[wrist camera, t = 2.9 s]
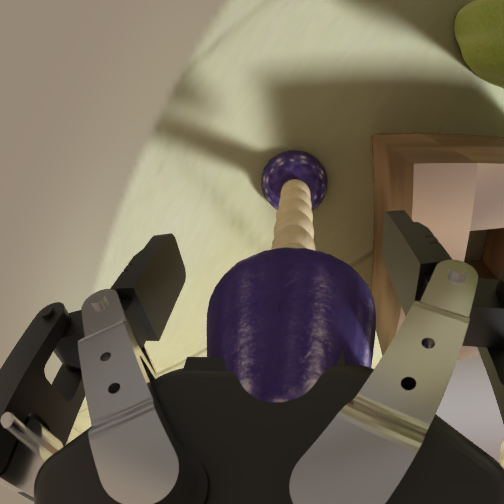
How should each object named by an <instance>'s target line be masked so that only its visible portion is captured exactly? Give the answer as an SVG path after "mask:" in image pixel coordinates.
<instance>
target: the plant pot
mask: <svg viewBox="0 0 504 504" xmlns="http://www.w3.org/2000/svg"><path fill="white" fill-rule="evenodd" d="M454 32H455V38H456V40H457V42H458V44H459V47H460V49H461V53H462V57H463V59H464V60H465V62H466V64H467V65H468V66H469V68H470V69H471V70H472V71H473V72H474V73H475V74H476V75H477V76H478V77H480V78H481V79H483V80H485V81H487V82H489V83H491V84H494V85H496V86H499V87H502V88H504V0H474V1H472V2H470V3H468V4H467V5H465V6H464V7H462V8H461V9H460V10H459V12H458V13H457V16H456V18H455V24H454Z"/></svg>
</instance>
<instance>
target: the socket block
mask: <svg viewBox="0 0 504 504" xmlns="http://www.w3.org/2000/svg"><path fill="white" fill-rule="evenodd" d="M372 148H373V169H374V249H373V270H372V286H371V294H372V296H373V299H374V304H375V310H376V332H377V336H378V339H379V343H380V347H381V351H382V355H384V353H385V352H386V350H387V348H388V347H389V345H390V343H391V342H392V340H393V338H394V337H395V335H396V333H397V331H398V330H399V328H400V326H401V324H402V323H403V321H404V319H405V317H406V316H405V313H404V311H403V308H402V306H401V303H400V301H399V298H398V296H397V294H396V291H395V289H394V286H393V284H392V282H391V279H390V277H389V275H388V272H387V270H386V268H385V266H384V262H383V256H382V242H383V216H384V212H385V211H397V210H405V211H406V213H407V214H408V215H409V217H410V218H411V219H412V220H413V222H419V223H421V224H423V225H424V226H426V227H428V228H429V229H430V231H431V232H432V233H433V234H434V237H436V238H437V239H438V241H439V243H441V245H442V246H443V247H444V249H445V250H446V251H447V253H448V254H449V255H450V257H451V258H452V259H453V260H459V261H463V262H464V259H465V254H466V249H467V244H468V239H469V233H470V231H476V230H486V229H488V234H487V239H486V244H485V249H484V253H483V257H482V260H477V261H469V262H465V263H467V264H469V265H471V266H472V267H473V268H474V269H475V270H476V272H477V274H478V278H482V279H493V280H499V277H500V273H501V270H502V269H503V268H504V138H503V137H491V136H477V135H457V134H378V135H372ZM479 354H480V353H479V350H478V348H477V347H471V346H462V347H461V350H460V353H459V356H458V359H457V360H460V359H464V358H468V357H471V356H475V355H479Z"/></svg>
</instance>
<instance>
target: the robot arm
mask: <svg viewBox="0 0 504 504" xmlns="http://www.w3.org/2000/svg"><path fill="white" fill-rule="evenodd" d="M382 256H383V262H384V266H385V268H386V270H387V272H388V275H389V277H390V279H391V282H392V284H393V286H394V289H395V291H396V294H397V296H398V298H399V301H400V303H401V306H402V308H403V311H404V313H405V316H406V317H405V319H404V321H403V323H402V324H401V326H400V328H399V330H398V331H397V333H396V335H395V337H394V338H393V340H392V342H391V343H390V345H389V347H388V348H387V350H386V352H385V353H384V355H383V356H382V358H381V360H380V361H379V363H378V364H377V366H376V367H375V369H372V368H370V367H367V366H364V365H360V364H355V363H349V362H345V357H344V350H342V353H341V355H340V357H339V359H338V362H337V364H336V366H331V367H330V368H328V369H327V370H326V371H325V372H324V373H323V374H322V375H321V376H320V377H319V379H318V380H317V382H316V383H315V384H314V386H313V387H312V388H311V389H310V390H309V391H308V392H307V393H305V394H304V395H302V396H300V397H298V398H296V399H293V400H289V401H285V402H280V403H275V402H264V401H260V400H258V399H257V398H255V397H253V396H252V395H251V394H250V393H248V392H247V391H246V390H245V389H244V388H243V386H242V385H241V383H240V381H239V379H238V378H237V376H235V375H234V373H233V372H231V371H227V370H226V366H225V361H224V357H187V359H186V363H185V366H184V368H183V369H178V370H175V371H171V372H169V373H166V374H164V375H162V376H160V377H159V375H158V373H157V371H156V369H155V367H154V365H153V362H152V360H151V358H150V356H149V353H148V351H147V349H146V347H145V346H144V344H145V342H146V341H159V340H160V337H161V335H162V333H163V330H164V328H165V326H166V323H167V321H168V319H169V317H170V314H171V312H172V310H173V307H174V305H175V303H176V301H177V298H178V296H179V294H180V292H181V289H182V287H183V285H184V283H185V278H186V272H185V267H184V264H183V261H182V258H181V255H180V252H179V248H178V245H177V242H176V239H175V237H174V235H173V234H163V235H156V236H153V237H152V238H151V239H150V241H149V242H148V243H147V245H146V246H145V248H144V249H143V250H141V251H140V252H139V253H137V254H136V255H135V256H134V257H133V258H132V260H131V261H130V262H129V264H128V265H127V266H126V268H125V269H124V272H122V273H121V275H120V276H119V277H118V279H117V280H116V282H115V283H114V284H113V286H112V287H111V289H104V290H100V291H98V292H96V293H94V294H92V295H91V296H90V297H88V298H87V299H86V300H85V302H84V303H83V305H82V309H81V310H79V311H75V312H71V313H68V312H67V310H66V308H65V306H64V305H63V304H62V303H60V302H58V303H52V304H50V305H48V306H46V307H45V308H43V309H42V310H41V311H40V312H39V313H38V314H37V315H36V317H35V318H34V320H33V321H32V322H31V324H30V325H29V327H28V328H27V329H26V331H25V333H24V334H23V336H22V337H21V338H20V340H19V341H18V343H17V344H16V346H15V347H14V349H13V350H12V352H11V353H10V355H9V357H8V358H7V360H6V361H5V363H4V364H3V366H2V368H1V369H0V483H1V484H3V485H4V486H6V487H7V488H9V489H11V490H12V491H14V492H17V493H19V494H21V495H23V496H25V497H26V498H28V499H30V500H32V501H34V503H35V504H504V439H503V442H502V445H501V451H500V454H501V457H500V459H499V463H498V462H497V461H496V460H495V459H494V458H493V457H491V456H489V455H488V454H487V453H486V452H484V451H483V450H482V449H481V448H479V447H478V446H476V445H475V444H474V443H473V442H471V441H470V440H468V439H467V438H466V437H465V436H463V435H462V434H460V433H459V432H458V431H457V430H455V429H454V428H453V427H451V426H450V425H448V424H447V423H446V422H445V421H443V420H442V419H441V418H440V417H438V416H437V415H436V411H437V409H438V407H439V405H440V403H441V400H442V398H443V396H444V393H445V390H446V388H447V386H448V383H449V380H450V378H451V376H452V373H453V370H454V367H455V364H456V362H457V359H458V356H459V353H460V350H461V347H462V346H471V347H477V348H478V350H479V353H480V355H481V358H482V360H483V363H484V366H485V368H486V371H487V374H488V376H489V379H490V382H491V385H492V388H493V391H494V394H495V397H496V400H497V403H498V406H499V410H500V413H501V416H502V420H503V424H504V268H503V269H502V270H501V273H500V277H499V280H493V279H482V278H478V274H477V272H476V270H475V269H474V268H473V267H472V266H471V265H469V264H467V263H465V262H463V261H459V260H453V259H452V258H451V257H450V255H449V254H448V253H447V251H446V250H445V249H444V247H443V246H442V245H441V243H439V241H438V239H437V238H436V237H434V234H433V233H432V232H431V231H430V229H429V228H428V227H426V226H424V225H423V224H421V223H419V222H413V220H412V219H411V218H410V217H409V215H408V214H407V213H406V211H405V210H397V211H385V212H384V216H383V242H382ZM53 351H54V353H55V354H56V355H57V357H58V358H59V359H60V361H61V362H62V363H63V364H62V366H61V368H60V369H59V371H58V373H57V375H56V377H55V379H54V381H53V383H52V385H51V384H50V383H49V381H48V380H47V379H46V377H45V374H44V367H45V364H46V363H47V361H48V359H49V357H50V356H51V354H52V352H53ZM85 395H86V400H87V405H88V410H89V414H90V419H91V424H92V426H91V427H90V428H89V429H87V430H86V431H85V432H83V433H82V434H81V435H79V436H78V437H76V438H75V439H74V440H72V441H71V442H70V443H68V444H67V445H66V442H67V440H68V437H69V434H70V432H71V429H72V427H73V424H74V422H75V419H76V417H77V414H78V412H79V409H80V407H81V405H82V402H83V400H84V397H85Z"/></svg>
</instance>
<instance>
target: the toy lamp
mask: <svg viewBox="0 0 504 504" xmlns="http://www.w3.org/2000/svg"><path fill="white" fill-rule="evenodd" d="M261 184H262V190H263V193H264V195H265V197H266V199H267V200H268V202H269V203H270V204H271V205H272V206H273V207H274V208H275V209H277V210H278V211H277V215H276V219H277V221H276V224H275V227H274V240H273V243H272V250H268V251H263V252H261V253H258V254H256V255H253V256H251V257H249V258H247V259H244V260H242V261H240V262H238V263H237V264H236V265H235V266H234V267H232V268H231V269H230V270H229V271H228V272H227V273H226V274H225V275H224V276H223V277H222V279H221V280H220V281H219V283H218V284H217V286H216V287H215V289H214V292H213V294H212V296H211V298H210V301H209V307H208V312H207V357H224V361H225V366H226V370H227V371H231V372H233V373H234V375H235V376H237V378H238V379H239V381H240V383H241V385H242V386H243V388H244V389H245V390H246V391H247V392H248V393H250V394H251V395H252V396H253V397H255V398H257V399H258V400H260V401H264V402H275V403H280V402H285V401H289V400H293V399H296V398H298V397H300V396H302V395H304V394H305V393H307V392H308V391H309V390H310V389H311V388H312V387H313V386H314V384H315V383H316V382H317V380H318V379H319V377H320V376H321V375H322V374H323V373H324V372H325V371H326V370H327V369H328V368H330V367H331V366H336V364H337V362H338V359H339V357H340V355H341V353H342V350H344V357H345V362H349V363H355V364H360V365H364V366H367V367H370V368H371V364H372V357H373V348H374V340H375V329H376V310H375V304H374V299H373V296H372V294H371V292H370V290H369V288H368V286H367V284H366V282H365V281H364V280H363V278H362V277H361V276H360V275H359V274H358V273H357V272H356V271H355V270H354V269H353V268H352V267H351V266H349V265H348V264H346V263H345V262H343V261H341V260H339V259H337V258H335V257H333V256H332V255H330V254H326V253H323V252H321V251H315V244H314V241H313V238H314V228H313V224H312V222H313V214H312V210H313V209H315V208H316V207H317V206H318V205H319V204H320V203H321V201H322V200H323V198H324V196H325V194H326V190H327V176H326V172H325V170H324V168H323V166H322V165H321V164H320V162H319V161H318V160H317V159H316V158H315V157H313V156H312V155H310V154H307V153H305V152H301V151H287V152H283V153H280V154H279V155H277V156H275V157H274V158H273V159H271V160H270V161H269V162H268V164H267V165H266V167H265V168H264V171H263V174H262V182H261Z"/></svg>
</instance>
